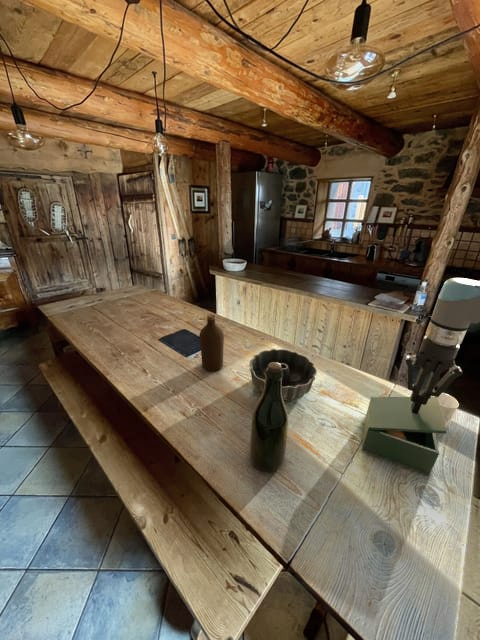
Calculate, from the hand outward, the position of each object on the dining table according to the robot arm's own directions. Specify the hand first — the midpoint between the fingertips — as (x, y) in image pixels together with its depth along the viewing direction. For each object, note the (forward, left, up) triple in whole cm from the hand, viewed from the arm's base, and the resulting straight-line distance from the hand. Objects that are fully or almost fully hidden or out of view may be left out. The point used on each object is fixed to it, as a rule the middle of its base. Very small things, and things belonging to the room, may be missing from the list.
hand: (414, 410), depth 77 cm
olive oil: (+75, -9, -15) cm, 77 cm away
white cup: (-11, -17, -15) cm, 25 cm away
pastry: (+2, 0, -14) cm, 14 cm away
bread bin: (+2, 0, -15) cm, 15 cm away
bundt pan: (+43, -10, -15) cm, 47 cm away
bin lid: (+2, 0, -2) cm, 3 cm away
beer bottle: (+36, +23, -15) cm, 45 cm away
